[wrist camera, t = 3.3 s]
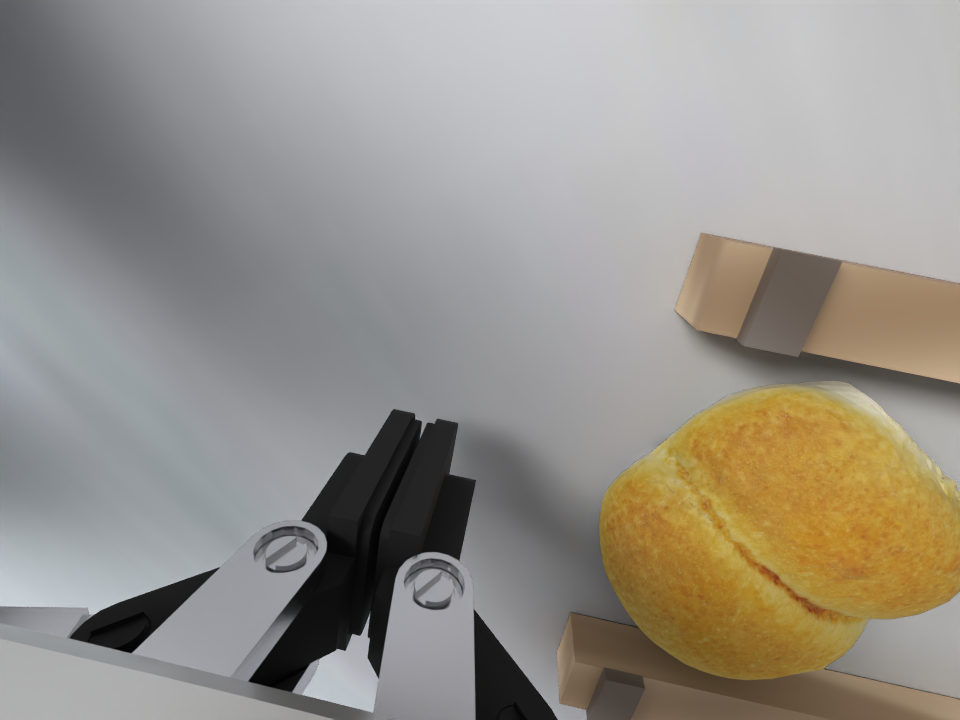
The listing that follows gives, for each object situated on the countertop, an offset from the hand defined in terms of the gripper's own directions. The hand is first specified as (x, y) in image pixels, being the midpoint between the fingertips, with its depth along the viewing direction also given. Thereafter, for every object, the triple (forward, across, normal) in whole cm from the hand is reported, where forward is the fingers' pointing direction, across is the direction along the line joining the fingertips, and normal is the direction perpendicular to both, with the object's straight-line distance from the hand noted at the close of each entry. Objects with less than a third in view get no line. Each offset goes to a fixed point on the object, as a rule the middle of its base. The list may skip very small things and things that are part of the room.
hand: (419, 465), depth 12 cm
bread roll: (+3, -10, +1) cm, 10 cm away
